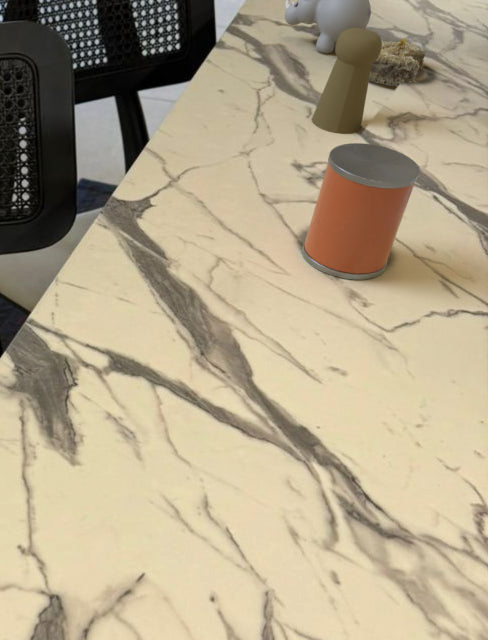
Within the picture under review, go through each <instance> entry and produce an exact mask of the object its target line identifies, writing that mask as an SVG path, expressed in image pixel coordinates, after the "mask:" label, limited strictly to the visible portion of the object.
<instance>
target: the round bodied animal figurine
mask: <svg viewBox="0 0 488 640" xmlns="http://www.w3.org/2000/svg"><path fill="white" fill-rule="evenodd" d="M284 7H285V11H284V20H285V22H286V23H287V24H288V25H290V26H298V25H299V24H306V25H312V24H316V25H317V27H318V29H319V32H320V35H319V36H318V39H317V41H316V44H315V50H316V51H317V52H319V53H321V54H332V53H333V52H334V51H335V46H336V42H337V39H338V38H339V36H340V34H341V33H342V32H343V31H345V30H347V29H350V28H361V29H366V28H367V27H368V25H369V23H370V20H371V14H372V7H371V2H370V0H297V1H295V0H292V3H291V0H286V1H285V5H284Z"/></svg>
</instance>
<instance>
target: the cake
mask: <svg viewBox="0 0 488 640" xmlns="http://www.w3.org/2000/svg"><path fill="white" fill-rule="evenodd" d="M406 39H407V38H406V37H403V38H401V39H400V41H391V40H390V41H386V40H385V41H382V48H381V51H380V54H379V56H378V58H377V60H376V61H374V62H373V63H372V65H371V71H370V77H369V81H370V82H374V83H375V84H381V85H384V86H389V87H396V88H398V87H399V86H400V85H401V83H405V82H406V83H416V84H417V83H418V81H416V79H417V76H418V71H419V70H420V69H423V67H424V66H425V65H426V64H425V60H424V59H425V57H426V50H424V49H423V47H418V46H417V44H414V43H411V44H410V43H409V42H407V41H406Z"/></svg>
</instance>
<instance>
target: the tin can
mask: <svg viewBox="0 0 488 640" xmlns="http://www.w3.org/2000/svg"><path fill="white" fill-rule="evenodd" d="M420 172H421V170H420V166H419V165H418V164H417V162H416V161H415V160H414V159H412V158H411V157H409V156H407V155H406V154H404V153H403V152H400V151H397V150H395V149H393V148H389V147H386V146H381V145H378V144H377V145H376V144H372V143H361V142H360V143H358V142H353V143H344V144H343V143H342V144H340V145H337V146H335V147H334V148H332V149H331V150H330V152H329V155H328V159H327V165H326V169H325V172H324V175H323V179H322V182H321V185H320V189H319V193H318V196H317V199H316V203H315V206H314V210H313V213H312V216H311V220H310V222H309V223H310V224H309V227H308V230H307V234H306V237H305V240H304V241H303V244H302V247H301V255H302V257H303V258H304V260H305V261H306V262H307V263H308V264H309V265H310V266H312V267H313V268H315V269H316V270H318V271H320V272H322V273H324V274H327V275H330V276H333V277H336V278H340V279H344V280H345V279H346V280H355V281H362V280H370V279H374V278H376V277H379V276H381V275H382V274H383V273H384V272H385V270H386V268H387V265H388V260H389V256H390V254H391V251H392V247H393V246H394V242H395V239H396V236H397V233H398V231H399V228H400V225H401V223H402V220H403V217H404V214H405V212H406V209H407V207H408V203H409V201H410V197H411V194H412V192H413V189H414V187H415V183H416V182H417V181H418V179H419V176H420Z"/></svg>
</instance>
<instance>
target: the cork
mask: <svg viewBox="0 0 488 640" xmlns="http://www.w3.org/2000/svg"><path fill="white" fill-rule="evenodd" d="M382 42H383V41H382V38H381V36H380V35H379V34H378V33H377V32H375V31H373V30H369V29H366V28H365V29H361V28H350V29H347V30H345V31H343V32H342V33H341V34H340V36H339V38H338V39H337V42H336V46H335V48H334V52H335V55H336V58H335V62H334V65H333V67H332V69H331V71H330V73H329V77H328V79H327V81H326V84H325V85H324V88H323V91H322V93H321V96H320V98H319V100H318V102H317V105H316V107H315V110H314V112H313V115H312V117H311V122H312V123H313V124H314V125H315V126H316V127H317V128H320V129H321V130H325V131H327V132H331V133H335V134H345V135H347V134H354V133H357V132H359V131H360V130H361V128H362V124H363V117H364V111H365V105H366V100H367V93H368V90H369V89H368V88H369V77H370V71H371V65H372V63H373V62H374V61H376V60H377V58H378V56H379V54H380V51H381V48H382Z"/></svg>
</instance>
